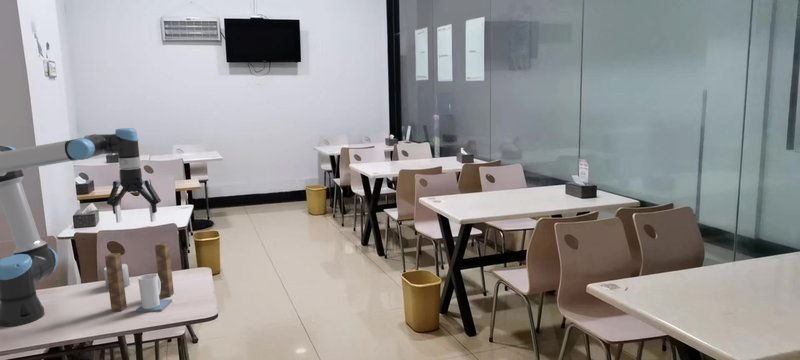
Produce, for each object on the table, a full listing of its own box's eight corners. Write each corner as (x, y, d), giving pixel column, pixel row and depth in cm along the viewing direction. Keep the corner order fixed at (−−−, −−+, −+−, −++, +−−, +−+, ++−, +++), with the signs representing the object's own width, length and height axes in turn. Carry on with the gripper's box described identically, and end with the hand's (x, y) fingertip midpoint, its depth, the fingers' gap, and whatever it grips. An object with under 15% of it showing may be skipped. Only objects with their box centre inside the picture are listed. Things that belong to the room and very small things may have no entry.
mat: (135, 311, 223) (135, 309, 223) (147, 301, 233) (147, 300, 233) (161, 311, 223) (161, 309, 223) (172, 301, 233) (172, 299, 233)
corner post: (111, 311, 225) (104, 256, 221) (116, 307, 229) (110, 253, 225) (121, 311, 225) (115, 256, 221) (126, 307, 228) (120, 253, 225)
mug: (152, 310, 222) (149, 280, 220) (137, 308, 224) (134, 279, 222) (169, 300, 232) (166, 271, 230) (155, 299, 234) (151, 270, 232)
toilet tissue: (126, 278, 262) (124, 260, 261) (130, 287, 251) (128, 267, 250) (104, 282, 258) (102, 264, 256) (107, 291, 247) (105, 272, 245)
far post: (160, 297, 238) (154, 245, 234) (164, 293, 242) (159, 242, 238) (170, 296, 238) (164, 245, 234) (173, 293, 242) (168, 242, 238)
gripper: (93, 170, 223) (99, 224, 226) (157, 168, 222) (163, 222, 226) (103, 167, 230) (109, 219, 234) (166, 165, 229) (171, 218, 233)
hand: (136, 221), depth 230 cm, fingers open, 13 cm apart
